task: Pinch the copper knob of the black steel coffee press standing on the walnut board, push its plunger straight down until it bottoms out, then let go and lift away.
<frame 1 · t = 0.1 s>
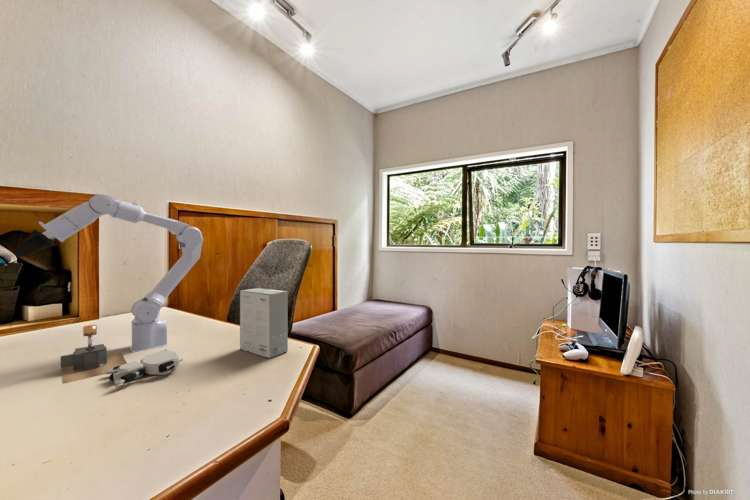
hand: (17, 254, 82), 32 cm above the table, tool tilted 50°, fingers open, 7 cm apart
walnut board: (95, 367, 86), on the table
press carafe: (90, 365, 86), resting on walnut board
hard drive box: (263, 351, 101), on the table
plunger: (90, 339, 86), point 8 cm above the table, slide at 0.0 cm
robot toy: (145, 376, 81), on the table
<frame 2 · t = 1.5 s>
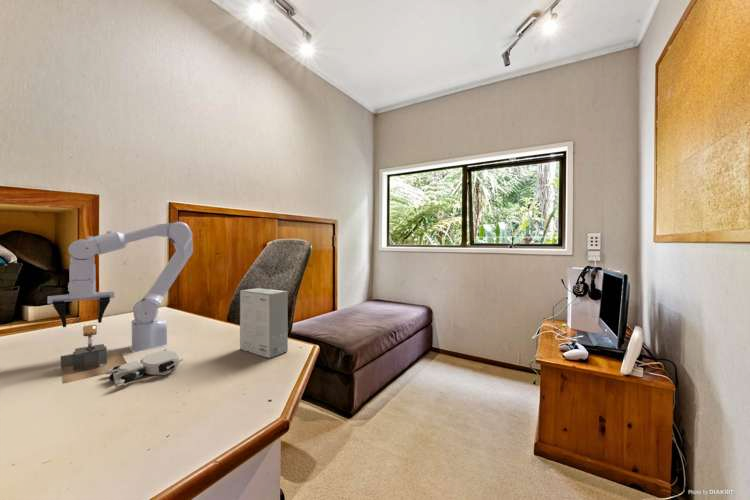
hand: (82, 324, 93), 10 cm above the table, tool pointing down, fingers open, 7 cm apart
nothing on the table moved.
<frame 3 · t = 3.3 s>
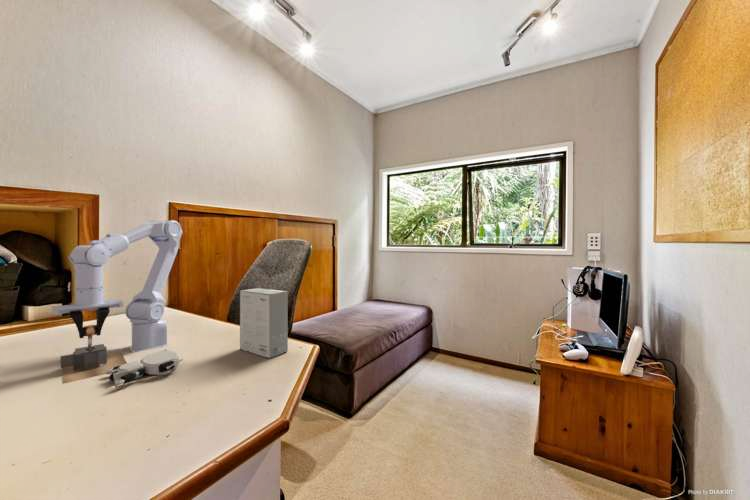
hand: (90, 336, 86), 9 cm above the table, tool pointing down, fingers closed on plunger, 3 cm apart
plunger: (90, 339, 86), point 8 cm above the table, slide at 0.0 cm, touching gripper
everything else where it was.
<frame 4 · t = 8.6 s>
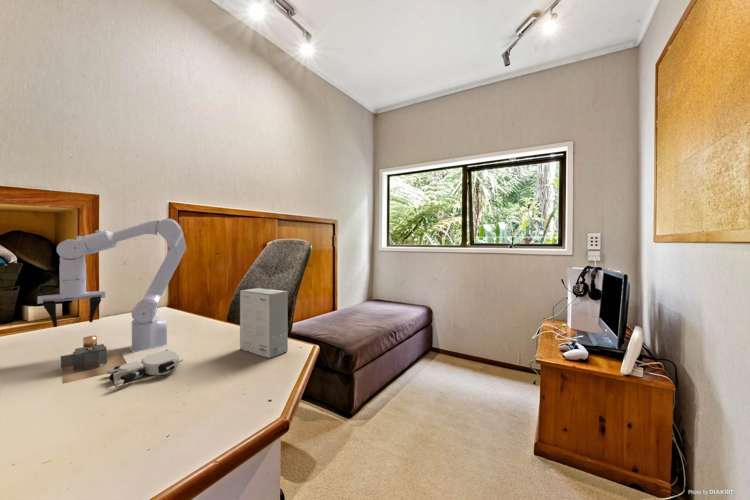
hand: (73, 324, 93), 10 cm above the table, tool pointing down, fingers open, 7 cm apart
plunger: (90, 349, 86), point 5 cm above the table, slide at 3.1 cm
everything else where it was.
at the end: plunger slide at 3.1 cm; the gripper is holding nothing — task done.
